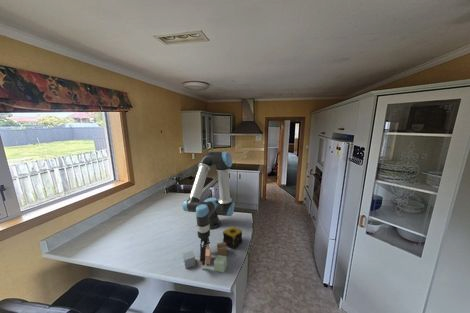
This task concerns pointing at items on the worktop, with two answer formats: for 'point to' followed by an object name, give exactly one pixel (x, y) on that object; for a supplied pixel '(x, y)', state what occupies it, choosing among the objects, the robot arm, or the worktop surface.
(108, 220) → the worktop surface
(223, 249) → the walnut cube
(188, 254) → the slate cube
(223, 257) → the sage cube
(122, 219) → the worktop surface
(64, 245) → the worktop surface
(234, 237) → the candle
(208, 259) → the terracotta cube
